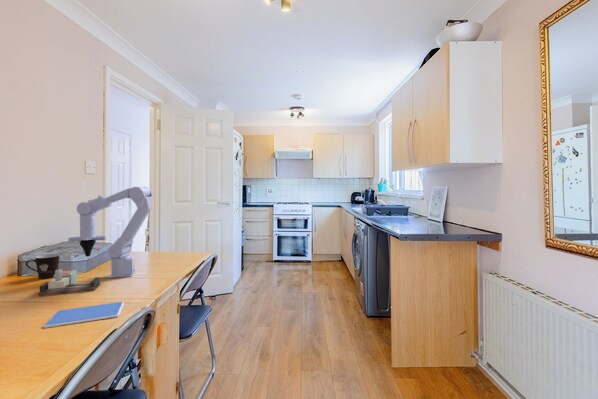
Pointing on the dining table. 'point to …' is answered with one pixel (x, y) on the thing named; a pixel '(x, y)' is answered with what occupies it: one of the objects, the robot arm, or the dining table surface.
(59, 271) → the carriage
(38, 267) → the coffee mug
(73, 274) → the gauge cabinet
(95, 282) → the dark gray tray
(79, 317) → the tablet computer
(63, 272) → the plunger
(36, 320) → the dining table surface
